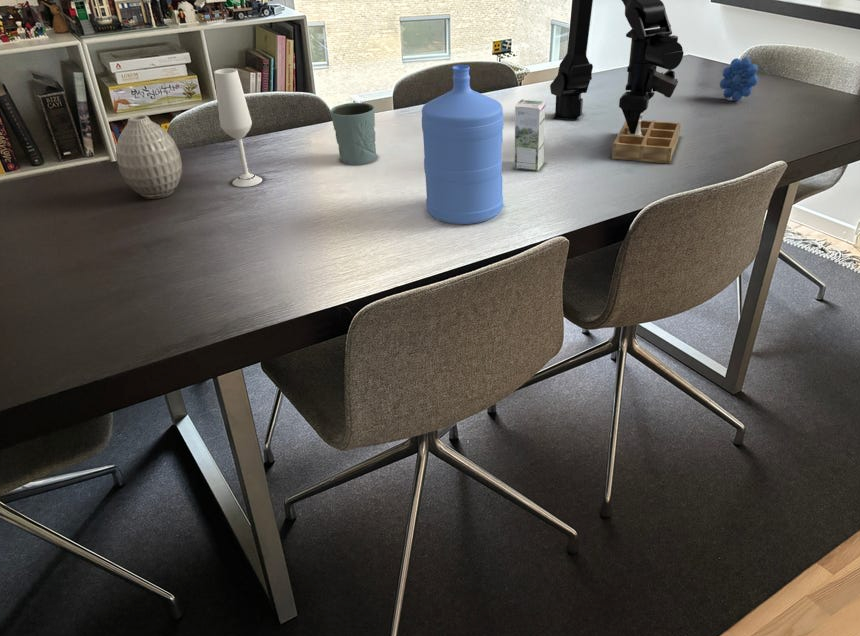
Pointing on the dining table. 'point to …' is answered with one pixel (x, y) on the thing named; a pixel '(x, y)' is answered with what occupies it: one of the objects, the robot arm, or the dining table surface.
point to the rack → (647, 142)
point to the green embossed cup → (355, 132)
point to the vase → (148, 158)
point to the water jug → (463, 153)
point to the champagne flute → (234, 116)
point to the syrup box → (529, 134)
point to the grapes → (739, 78)
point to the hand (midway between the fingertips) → (635, 128)
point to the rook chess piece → (638, 130)
